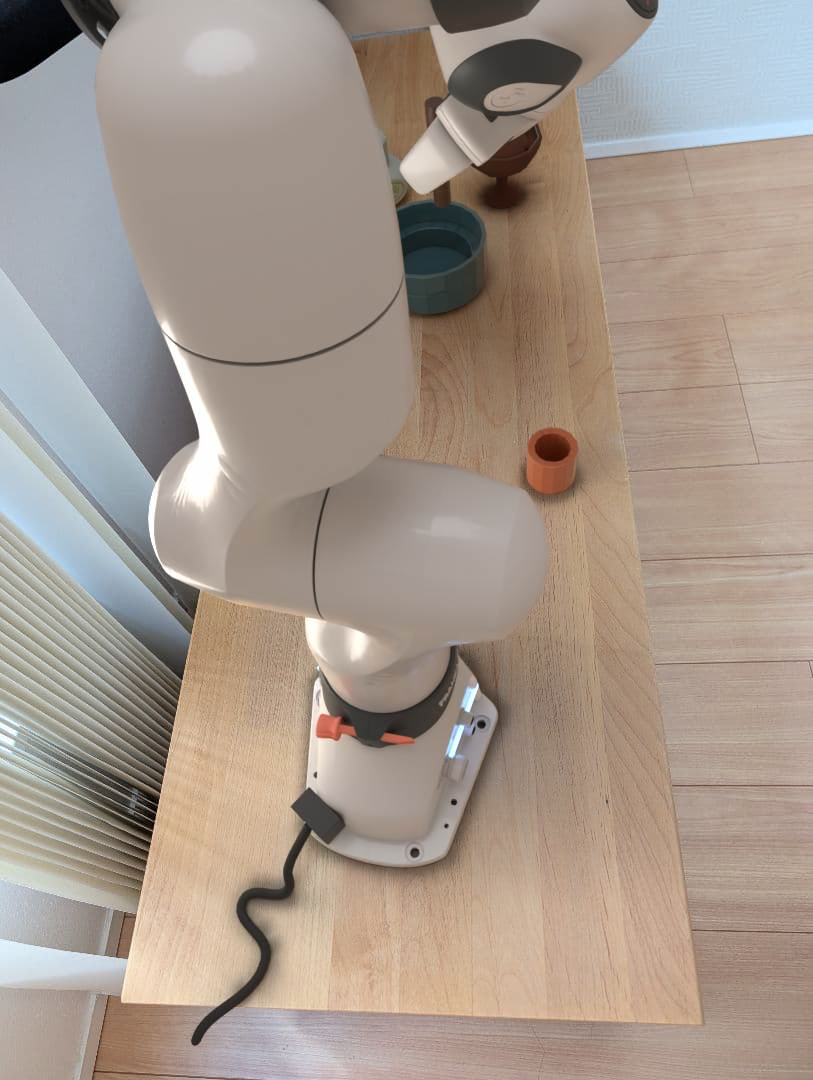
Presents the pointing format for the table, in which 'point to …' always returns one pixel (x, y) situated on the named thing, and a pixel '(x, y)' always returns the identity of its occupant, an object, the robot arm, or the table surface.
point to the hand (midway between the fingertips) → (433, 150)
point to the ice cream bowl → (509, 167)
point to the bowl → (442, 255)
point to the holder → (551, 460)
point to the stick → (443, 192)
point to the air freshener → (394, 171)
